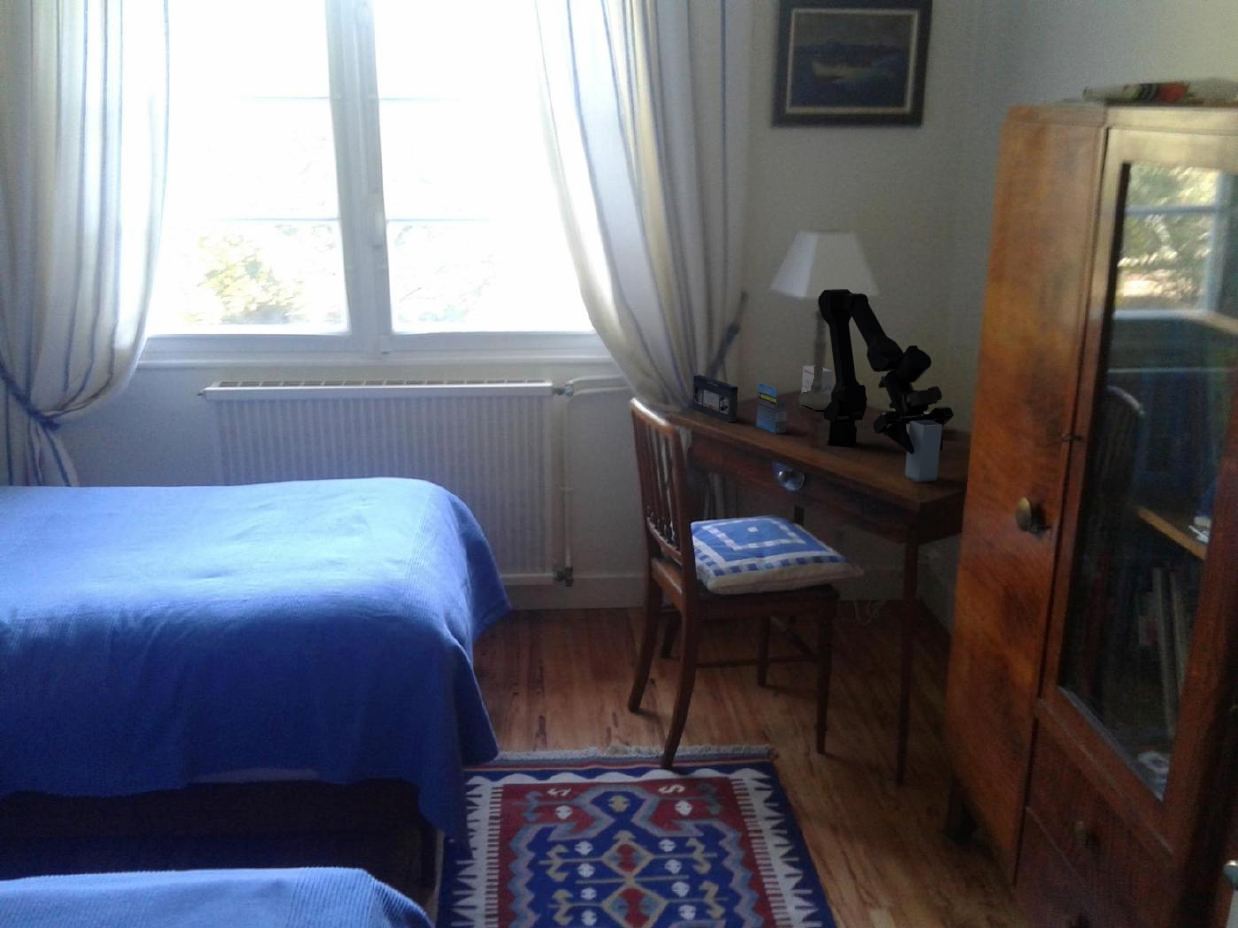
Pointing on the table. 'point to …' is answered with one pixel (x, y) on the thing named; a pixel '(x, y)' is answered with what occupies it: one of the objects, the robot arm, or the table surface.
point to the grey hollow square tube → (923, 450)
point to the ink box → (809, 376)
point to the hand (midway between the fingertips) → (927, 451)
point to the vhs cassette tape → (715, 398)
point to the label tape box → (771, 410)
